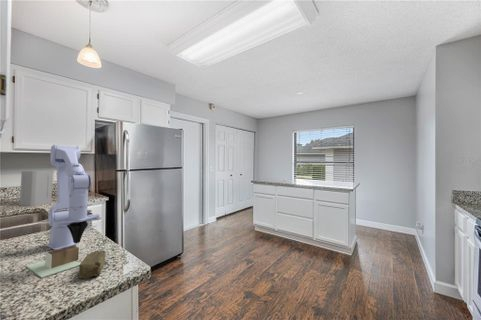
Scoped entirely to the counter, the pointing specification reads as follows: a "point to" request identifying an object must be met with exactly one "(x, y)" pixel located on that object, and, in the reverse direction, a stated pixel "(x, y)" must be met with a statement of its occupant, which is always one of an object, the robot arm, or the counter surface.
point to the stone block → (92, 265)
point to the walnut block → (61, 256)
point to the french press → (89, 214)
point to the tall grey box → (36, 188)
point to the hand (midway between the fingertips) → (76, 242)
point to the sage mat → (44, 271)
